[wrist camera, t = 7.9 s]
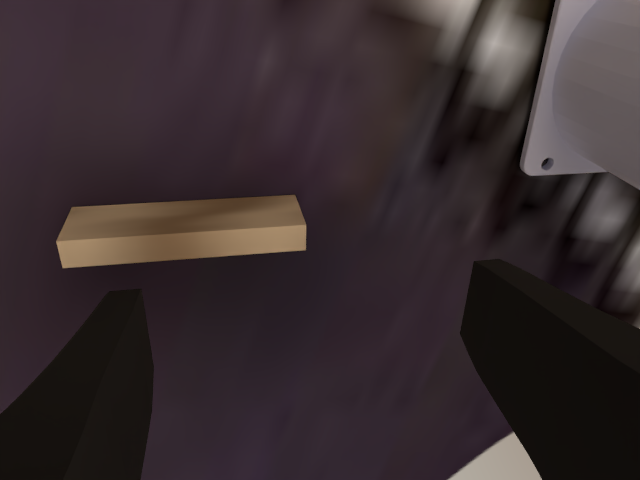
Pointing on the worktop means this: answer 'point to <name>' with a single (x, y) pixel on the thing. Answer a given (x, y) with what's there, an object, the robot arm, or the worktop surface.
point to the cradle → (180, 230)
